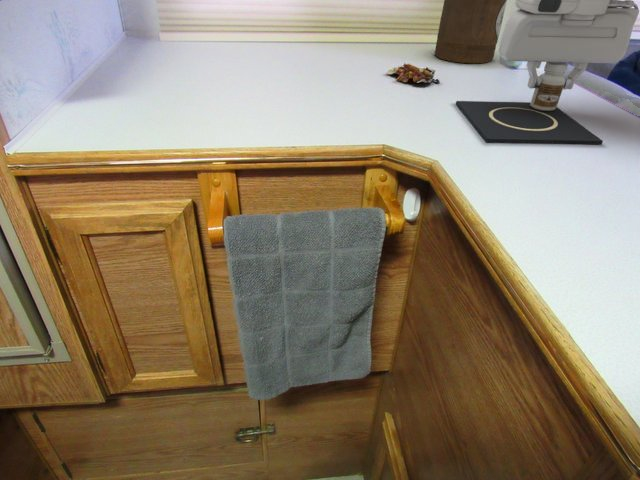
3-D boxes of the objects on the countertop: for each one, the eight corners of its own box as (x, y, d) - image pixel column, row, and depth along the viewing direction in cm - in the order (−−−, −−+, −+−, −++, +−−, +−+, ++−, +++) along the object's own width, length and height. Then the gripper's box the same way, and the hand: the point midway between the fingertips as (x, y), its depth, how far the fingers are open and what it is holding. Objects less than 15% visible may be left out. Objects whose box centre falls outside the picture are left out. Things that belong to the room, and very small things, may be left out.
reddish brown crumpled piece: (398, 70, 98) (400, 54, 96) (441, 82, 91) (444, 65, 89) (377, 75, 94) (379, 58, 92) (421, 88, 87) (424, 70, 85)
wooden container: (504, 62, 106) (532, -43, 93) (450, 65, 103) (471, -43, 90) (474, 49, 118) (494, -46, 105) (425, 51, 115) (440, -47, 102)
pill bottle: (532, 110, 76) (547, 65, 71) (527, 102, 79) (540, 59, 75) (558, 112, 75) (575, 67, 71) (551, 104, 79) (566, 60, 74)
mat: (550, 105, 80) (551, 101, 80) (601, 144, 65) (603, 139, 65) (455, 104, 80) (456, 99, 79) (486, 142, 65) (487, 137, 65)
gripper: (631, -3, 70) (597, 83, 78) (508, -5, 69) (486, 81, 78) (656, 3, 65) (616, 94, 73) (523, 0, 64) (498, 92, 72)
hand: (548, 87), depth 75 cm, fingers closed on pill bottle, 4 cm apart
